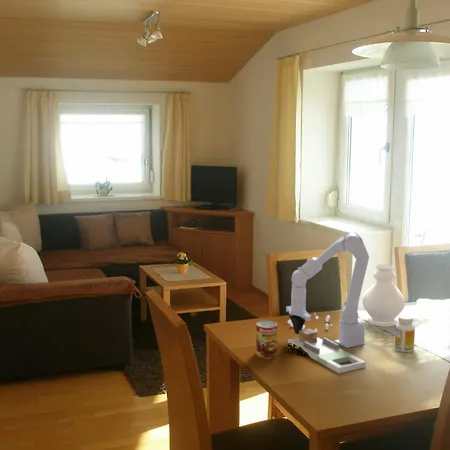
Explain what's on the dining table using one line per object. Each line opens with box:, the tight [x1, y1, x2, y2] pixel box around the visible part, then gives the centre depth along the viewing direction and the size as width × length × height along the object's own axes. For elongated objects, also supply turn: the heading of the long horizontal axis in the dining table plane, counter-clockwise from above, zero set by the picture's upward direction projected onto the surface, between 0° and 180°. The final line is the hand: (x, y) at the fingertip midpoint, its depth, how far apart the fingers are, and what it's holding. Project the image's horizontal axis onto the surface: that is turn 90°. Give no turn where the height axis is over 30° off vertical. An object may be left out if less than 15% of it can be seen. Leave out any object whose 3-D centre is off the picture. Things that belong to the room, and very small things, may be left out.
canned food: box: [255, 320, 278, 358], centre depth 238 cm, size 8×8×12 cm
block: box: [298, 328, 318, 343], centre depth 247 cm, size 5×5×4 cm
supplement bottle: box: [394, 314, 416, 353], centre depth 243 cm, size 7×7×13 cm
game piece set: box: [287, 312, 333, 333], centre depth 273 cm, size 19×20×4 cm
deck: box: [287, 336, 367, 374], centre depth 238 cm, size 12×32×4 cm, turn 28°
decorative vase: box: [362, 263, 406, 328], centre depth 275 cm, size 18×18×25 cm
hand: (297, 333), depth 253 cm, fingers closed
